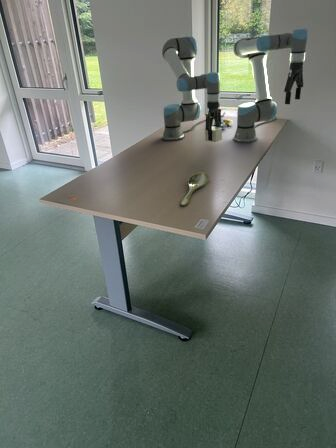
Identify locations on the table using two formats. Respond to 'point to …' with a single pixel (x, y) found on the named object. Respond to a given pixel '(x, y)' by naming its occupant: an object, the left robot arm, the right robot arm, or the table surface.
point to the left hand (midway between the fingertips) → (213, 138)
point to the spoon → (195, 184)
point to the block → (214, 134)
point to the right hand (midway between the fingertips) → (292, 101)
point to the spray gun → (223, 126)
